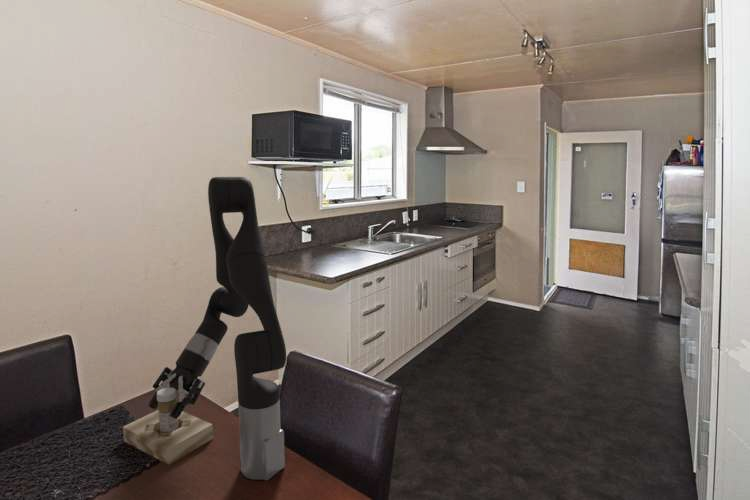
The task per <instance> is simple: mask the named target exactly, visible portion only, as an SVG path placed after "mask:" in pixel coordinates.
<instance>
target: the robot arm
mask: <svg viewBox="0 0 750 500" xmlns="http://www.w3.org/2000/svg"><path fill="white" fill-rule="evenodd" d="M208 182H209V183H208V187H207V189H208V190H207V198H208V206H209V209H208V210H209V215H210V224H211V231H212V237H213V243H214V244H213V245H214V250H215V277H216V281H217V283H218V284H219V285H220V286H221V287H218V288H217V289H215V290H214V291H213V292H212V293H211V295H210V297H209V301H208V303H207V308H206V311H205V314H204V316H203V320H202V321H201V323H200V325H199V326H198V328H196V329H197V330H196V331H195V333H194V334H193V336H192V337H191V338H190V339H189V341H188V342H187V344H186V345H185V347H184V348H183V350H182V352H181V353H180V355H179V356H178V358H177V360H175V366H176V367H175V368H174V369H171V368H170V367H167V366H166V367H164V369H163V370H162V372H161V373H160V374H159V376H158V377H157V379H156V381H154V383H153V385H152V388H154V391H155V392H154V395H153V396H152V398H151V399H150V401H149V403H148V407H149V408H150V409H153V410H157V408H158V401H157V392H158V391H159V390H161V389H163V388H175V389H176V392H177V393H178V394H179V395H178V398H179V399H178V401H176V405H175V407H174V408H173V410H172V412H171V413H170V417H172V418H174V419H177V418H178V417H179V416H180V415H181V413H182V411H183V412H184V410H185V408H186V406H188V405H195V404H196V402H197V400H198V399H199V396H200V394H201V393H202V392H203V389H204V387H205V385H206V382H204V381H203V380H202V379H200V378H199V377H202V375H203V374H204V372H205V371H206V370H207V368H208V367H209V364H210V362H211V361H212V359H213V357H214V356H215V355H216V352H217V350H218V347H219V346H220V344H221V342H222V340H223V338H224V337H225V335H226V333H227V331H228V329H229V328H228V325H227V324H226V322H224V321H223V320H221V315H222V314H225V315H226V316H231V317H233V318H240V317H242V316H244V314H246V313H247V311H248V309H249V306H250V308H251V309H252V310H253V311H254V313H256V316H257V317H258V319H259V321H260V323H261V325H262V327H263V329H262V330H255V331H249V332H244V333H240V334H237V335H236V336H235V340H234V345H233V346H234V347H233V348H234V349H233V350H234V361H235V370H236V386H237V388H236V389H237V406H238V407H237V408H238V427H239V454H240V472H241V474H242V476H244V477H245V478H247V479H250V480H257V481H258V480H264V481H265V482H266V481H269V480H270V479H271V478H272V477H274V476H275V475H276V474H277V473H279V472H280V471H282V470H283V469H284V468H286V467H285V465H286V464H285V463H286V462H285V461H286V460H285V431H284V430H283V429H282V428H281V395H280V387H279V385H278V384H277V383H276V382H275V381H272V380H270V379H265V378H260V377H257V376H254V375H257V374H261V373H262V374H263V373H268V372H272V371H278V370H281V369H283V368H285V366H286V362H287V350H286V349H287V347H286V343H285V339H284V335H283V331H282V328H281V324H280V321H279V317H278V313H277V310H276V306H275V301H274V298H273V294H272V287H271V282H270V275H269V270H268V264H267V260H266V255H265V252H264V247H263V242H262V238H261V233H260V228H259V223H258V222H259V221H258V215H257V207H256V198H255V191H254V188H253V187H254V186H253V183H252V181H251V180H250V179H249V178H248V177H244V176H215V177H212V178H211V179H210V180H209V181H208ZM231 213H233V214H234V213H241V214H242V221H241V224H240V226H239V229H238V231H237V234H236V236H235V237H234V238H233V236H232V234H231V233H230V232H229V230H228V228H227V227H226V223H225V221H224V215H223V214H231Z"/></svg>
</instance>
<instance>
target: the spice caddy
mask: <svg viewBox="0 0 750 500" xmlns="http://www.w3.org/2000/svg"><path fill="white" fill-rule="evenodd" d="M122 431H123V433H122V434H123V441H124V442H125V443H127V444H128V445H130V446H133V447H134V448H136V449H137V450H140V451H141V452H143V453H145V454H147V455H149V456H151V457H153V458H155V459H157V460H158V459H159V461H160V462H162V463H164V464H166V465H168V466H169V465H171V464H173V463H174V462H176V461H178V460H180V459H181V458H183V457H185V456H186V455H188V454H190V453H191V452H193V451H194V450H196V449H198V448H200V447H201V446H203V445H205V444H207V443H209V441H211V440H213V439H214V429H213V423H210V422H208V421H205V420H204V419H201V418H199V417H197V416H195V415H193V414H190V413H187V412H186V411H184V410H183V411H182V413H181V415H180V416H179V417H178V429H177V430H175V431H173V432H168V433H160V424H159V409H156V410H155V411H153V412H151V413H149V414H146V415H144V416H143V417H140V418H138V419H136V420H134V421H132V422H130V423H128V424H125V425H123V426H122Z"/></svg>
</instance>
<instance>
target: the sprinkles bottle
mask: <svg viewBox="0 0 750 500" xmlns="http://www.w3.org/2000/svg"><path fill="white" fill-rule="evenodd" d="M177 393H178V392H177V391H176V389H175V388H163V389H161V390H159V391H158V392H157V401H158V407H157V408H158V409H157V410H159V424H160V433H168V432H173V431H175V430H177V429H178V418H177V419H174V418H172V417H170V413H171V412H172V410H173V408H174V407H175V405H176V403H177V398H178V397H177V396H178V395H177Z"/></svg>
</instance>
